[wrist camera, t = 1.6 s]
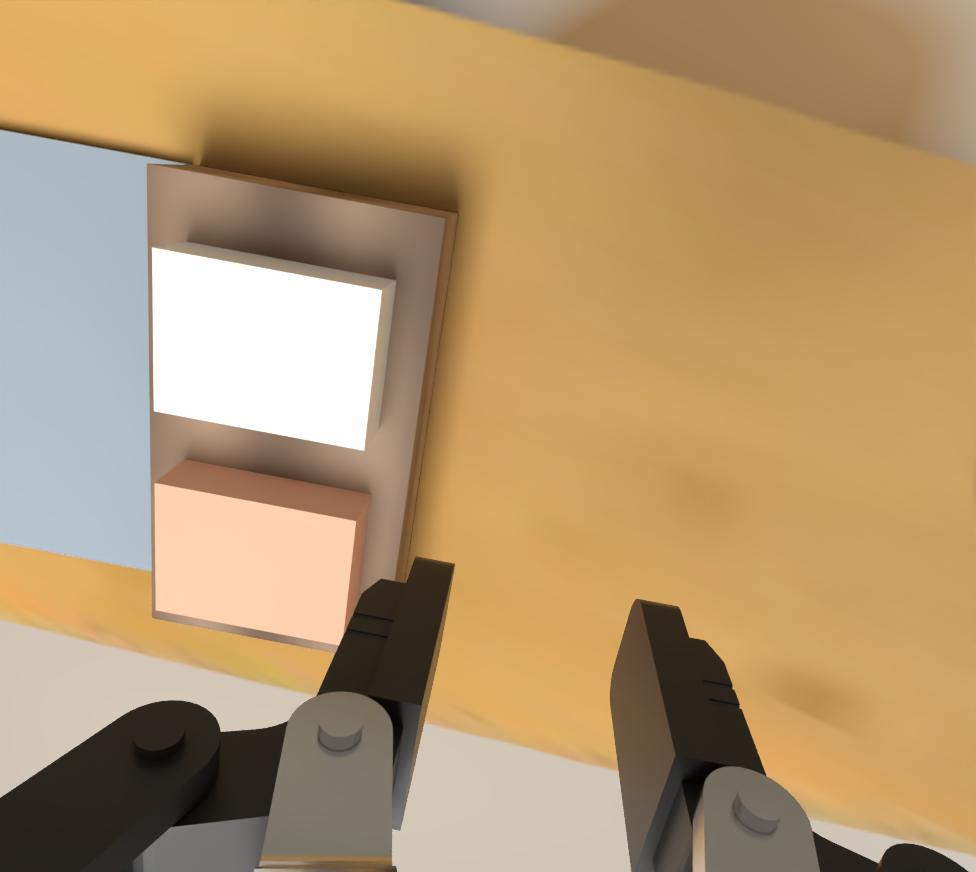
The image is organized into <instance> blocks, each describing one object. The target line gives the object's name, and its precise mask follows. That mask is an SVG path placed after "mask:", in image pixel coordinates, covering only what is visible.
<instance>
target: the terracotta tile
mask: <svg viewBox="0 0 976 872" xmlns="http://www.w3.org/2000/svg"><path fill="white" fill-rule="evenodd" d="M370 497H371V494H366V493H361V492H356V491H350V490H345V489H340V488H334V487H329V486H324V485H318V484H313V483H308V482H303V481H297V480H292V479H287V478H281V477H276V476H271V475H266V474H260V473H255V472H250V471H244V470H239V469H234V468H228V467H223V466H218V465H213V464H207V463H202V462H197V461H191V460H186V459H185V460H183V461H182V462H181V463H180V464H178V465H177V466H176V467H174V468H173V469H172V470H171V471H169V472H168V473H167V474H165V475H164V476H163V477H162V478H160V479H159V480H158V481H156V482H155V582H156V610H157V611H162V612H168V613H173V614H178V615H183V616H188V617H194V618H199V619H204V620H209V621H215V622H220V623H225V624H230V625H235V626H241V627H246V628H251V629H256V630H262V631H267V632H272V633H277V634H282V635H288V636H293V637H298V638H303V639H308V640H314V641H319V642H324V643H329V644H335V645H339V644H340V642H341V640H342V637H343V635H344V633H345V632H346V628H347V626H348V624H349V621H350V619H351V617H352V616H353V612H354V610H355V608H356V606H357V603H358V598H359V590H360V581H361V573H362V565H363V556H364V548H365V539H366V531H367V523H368V514H369V506H370Z"/></svg>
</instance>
